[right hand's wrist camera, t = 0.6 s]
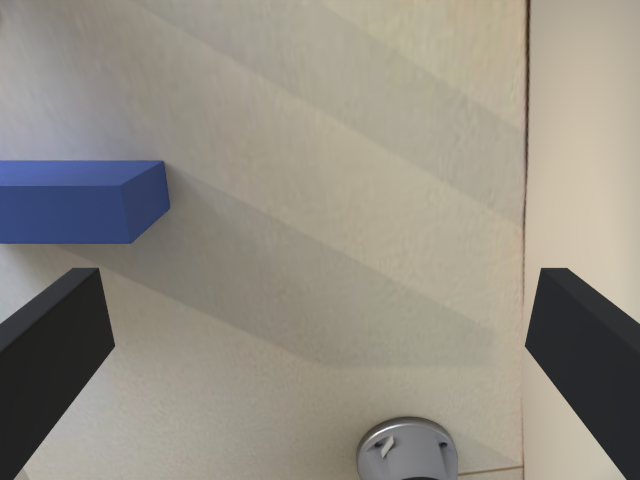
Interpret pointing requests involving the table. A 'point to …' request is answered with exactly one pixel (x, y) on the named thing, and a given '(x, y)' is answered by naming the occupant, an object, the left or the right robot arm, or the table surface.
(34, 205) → the box
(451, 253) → the table surface
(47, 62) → the table surface
